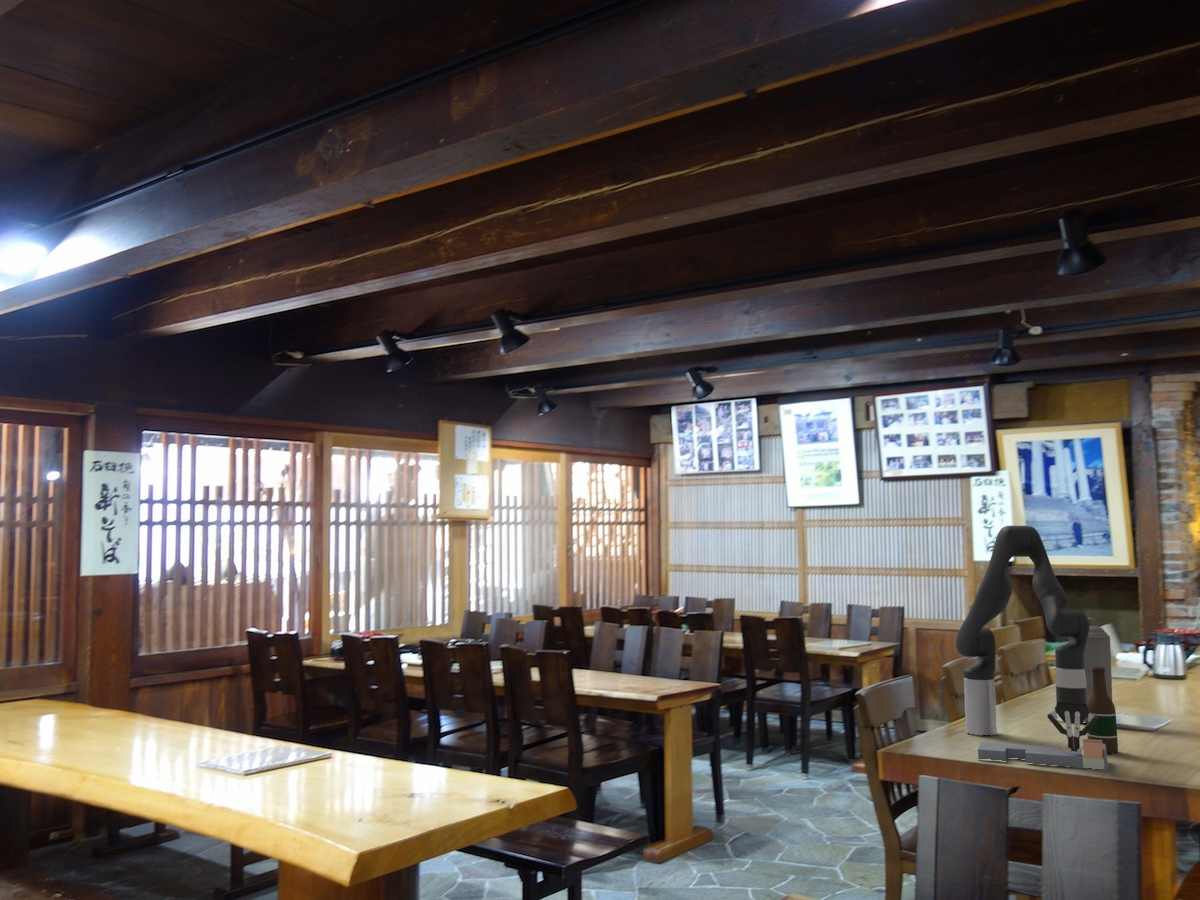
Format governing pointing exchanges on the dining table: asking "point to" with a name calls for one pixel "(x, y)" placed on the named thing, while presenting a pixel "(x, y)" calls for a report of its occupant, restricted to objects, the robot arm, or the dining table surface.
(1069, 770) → the dining table surface
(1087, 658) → the canister
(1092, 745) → the block
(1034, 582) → the robot arm
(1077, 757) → the board
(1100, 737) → the beer bottle
